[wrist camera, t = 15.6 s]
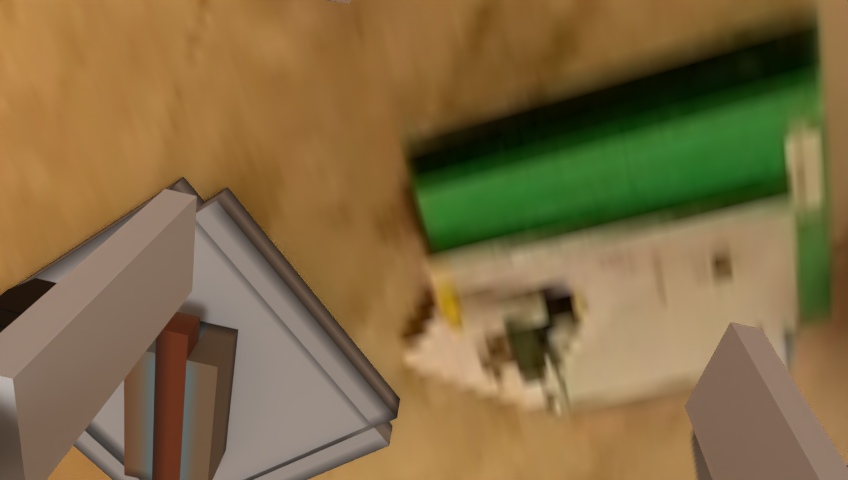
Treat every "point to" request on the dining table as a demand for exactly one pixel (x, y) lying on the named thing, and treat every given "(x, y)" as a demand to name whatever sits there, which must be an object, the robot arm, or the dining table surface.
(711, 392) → the robot arm
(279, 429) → the grey tray
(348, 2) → the walnut block
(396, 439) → the dining table surface
